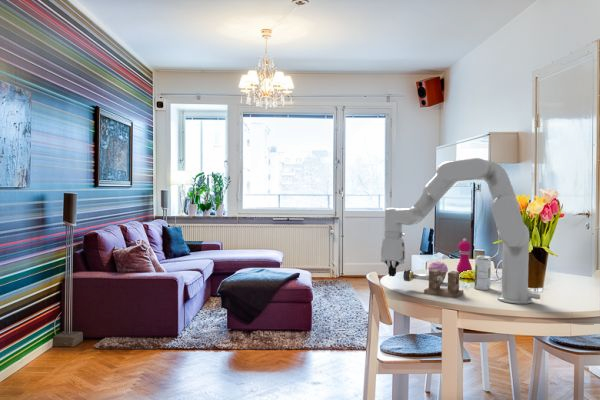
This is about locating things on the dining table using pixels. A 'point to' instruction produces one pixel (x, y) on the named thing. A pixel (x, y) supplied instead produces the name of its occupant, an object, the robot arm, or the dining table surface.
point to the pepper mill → (464, 256)
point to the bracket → (450, 291)
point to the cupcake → (439, 268)
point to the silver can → (482, 272)
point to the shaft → (417, 276)
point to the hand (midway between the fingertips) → (392, 275)
